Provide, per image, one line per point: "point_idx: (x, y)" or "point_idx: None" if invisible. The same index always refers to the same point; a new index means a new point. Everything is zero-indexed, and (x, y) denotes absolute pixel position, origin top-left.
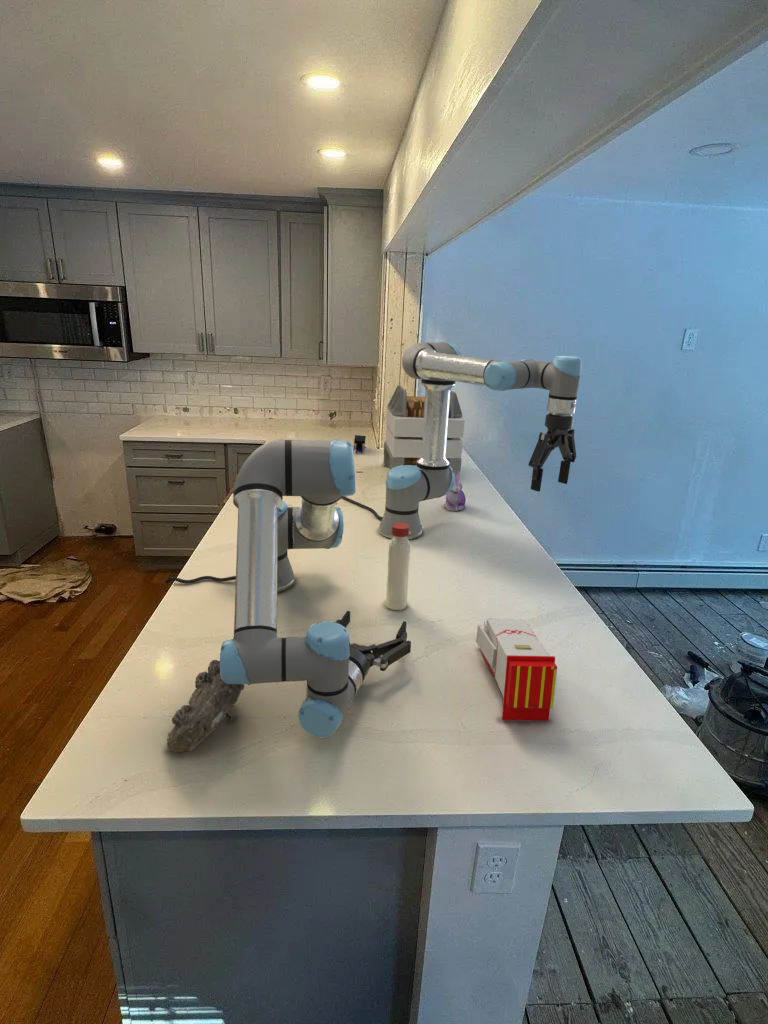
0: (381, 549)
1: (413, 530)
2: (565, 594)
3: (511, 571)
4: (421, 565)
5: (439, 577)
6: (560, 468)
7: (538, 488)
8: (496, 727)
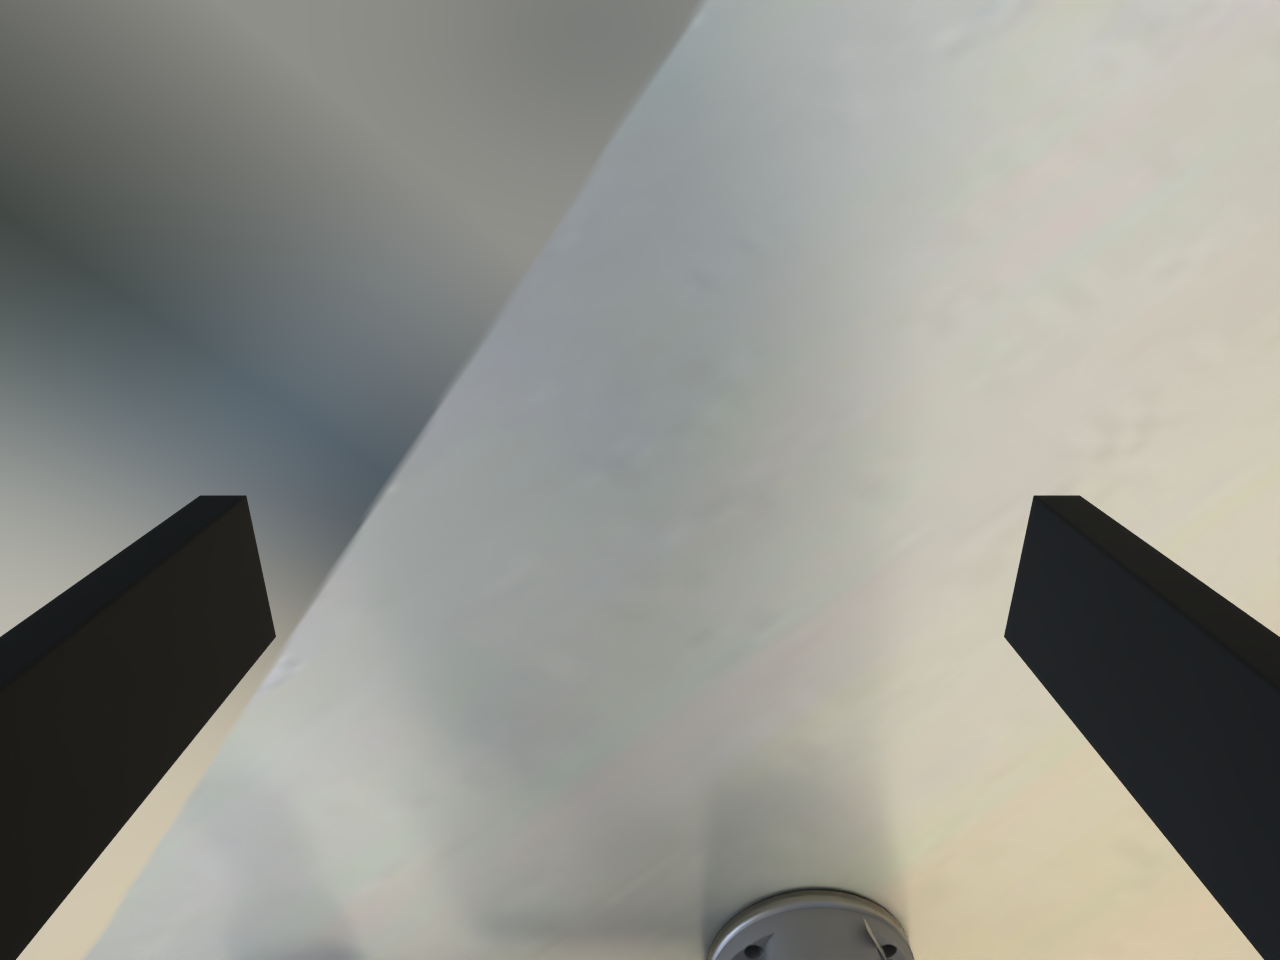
0: (1027, 885)
1: (835, 933)
2: (749, 5)
3: (742, 406)
4: (1040, 697)
5: None
6: (121, 815)
7: (1106, 528)
8: None
